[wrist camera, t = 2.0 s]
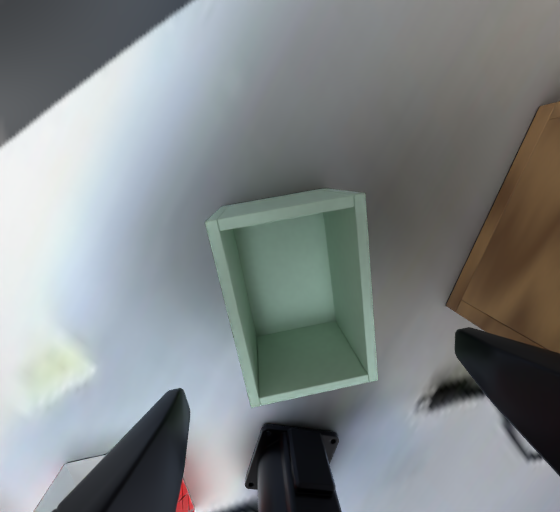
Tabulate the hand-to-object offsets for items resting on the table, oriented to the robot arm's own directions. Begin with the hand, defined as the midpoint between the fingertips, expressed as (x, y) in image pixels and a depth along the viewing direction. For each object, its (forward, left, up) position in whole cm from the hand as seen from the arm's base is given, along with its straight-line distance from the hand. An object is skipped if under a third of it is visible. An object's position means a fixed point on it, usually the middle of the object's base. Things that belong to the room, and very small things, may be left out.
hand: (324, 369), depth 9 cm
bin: (0, 0, -10) cm, 10 cm away
